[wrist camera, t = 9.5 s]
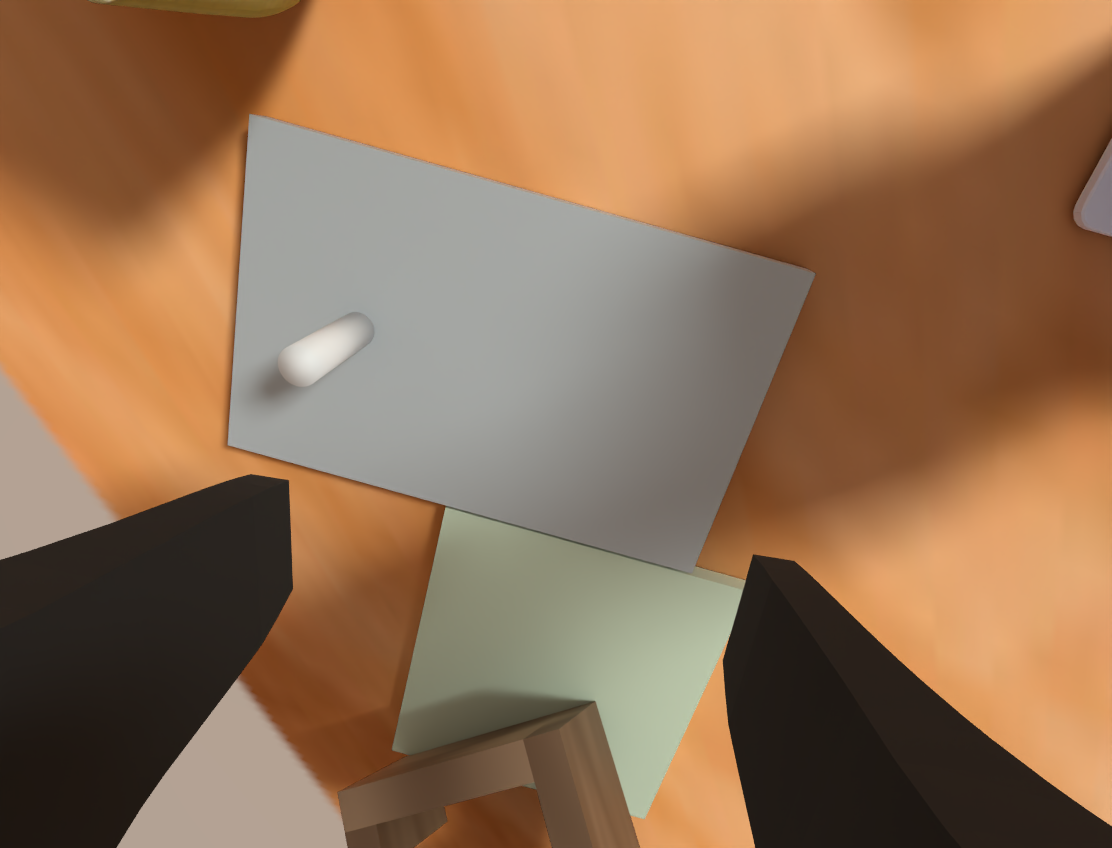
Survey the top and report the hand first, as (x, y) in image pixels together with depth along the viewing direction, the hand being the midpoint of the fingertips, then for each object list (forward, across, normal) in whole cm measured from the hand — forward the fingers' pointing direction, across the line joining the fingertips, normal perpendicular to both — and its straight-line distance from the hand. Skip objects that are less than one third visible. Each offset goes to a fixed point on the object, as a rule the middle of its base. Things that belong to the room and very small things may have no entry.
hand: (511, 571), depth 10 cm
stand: (+10, +2, 0) cm, 10 cm away
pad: (+10, -1, +11) cm, 15 cm away
